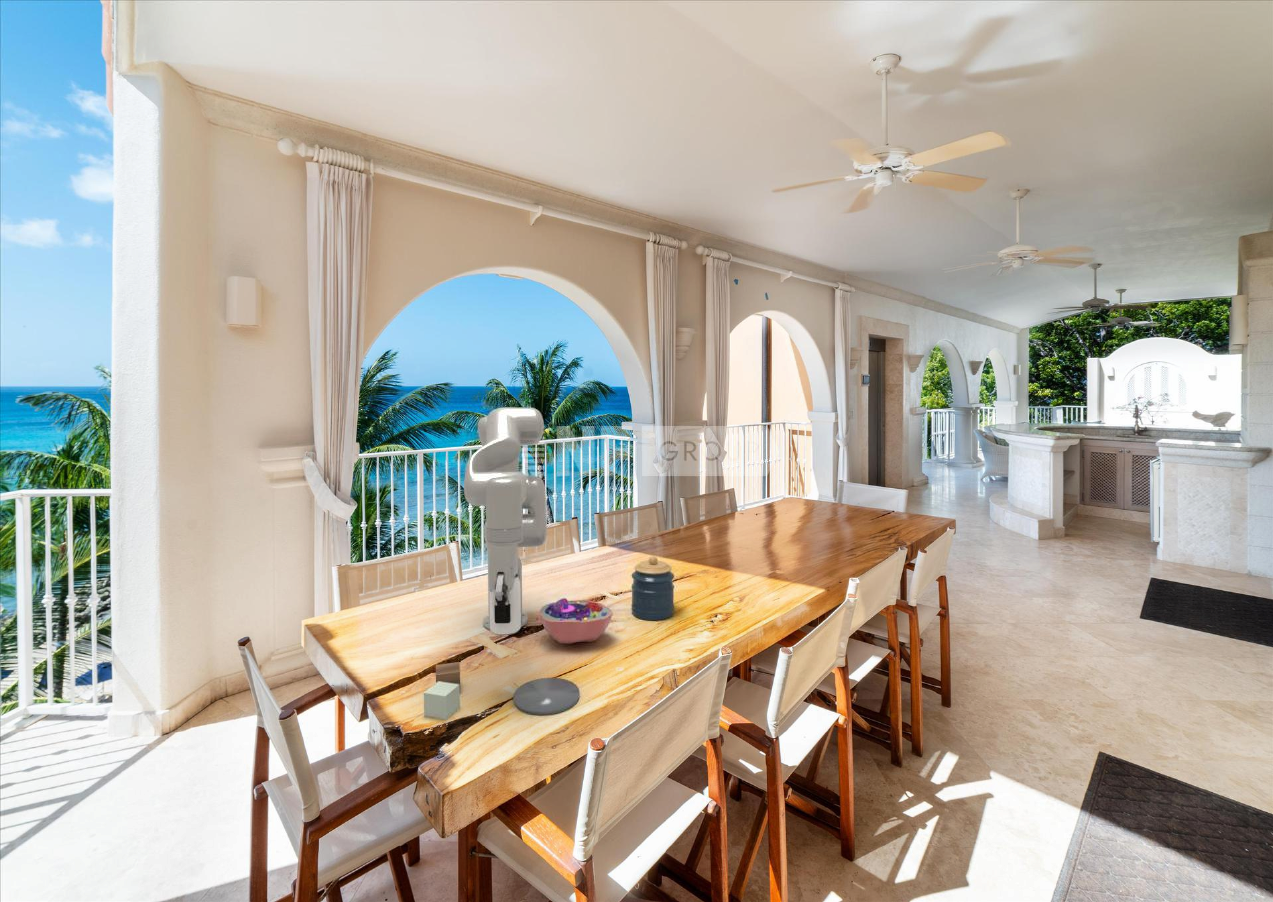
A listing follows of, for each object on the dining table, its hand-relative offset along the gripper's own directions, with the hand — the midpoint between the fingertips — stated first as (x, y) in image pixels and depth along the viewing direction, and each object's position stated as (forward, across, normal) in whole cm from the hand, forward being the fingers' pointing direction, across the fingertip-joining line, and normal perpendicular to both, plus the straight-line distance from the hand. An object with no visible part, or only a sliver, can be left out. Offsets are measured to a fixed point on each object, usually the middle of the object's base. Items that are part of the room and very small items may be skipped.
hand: (505, 615), depth 122 cm
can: (+3, 0, 0) cm, 3 cm away
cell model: (+18, -28, +13) cm, 36 cm away
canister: (+18, -47, +36) cm, 62 cm away
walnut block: (+18, -3, -13) cm, 22 cm away
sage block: (+18, +6, -12) cm, 22 cm away
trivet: (+18, +2, +9) cm, 20 cm away
